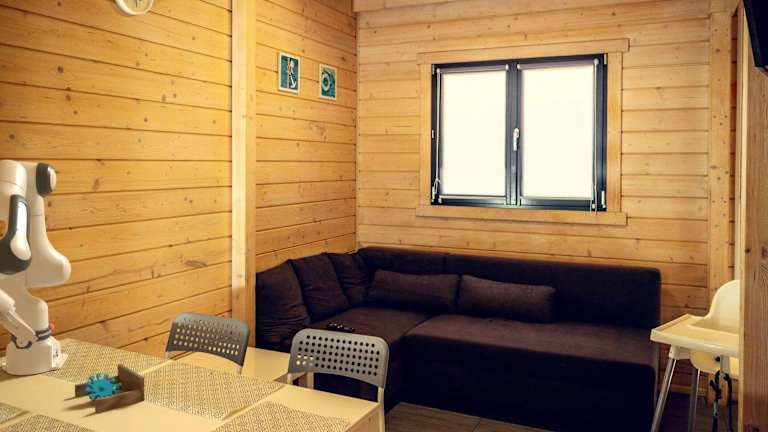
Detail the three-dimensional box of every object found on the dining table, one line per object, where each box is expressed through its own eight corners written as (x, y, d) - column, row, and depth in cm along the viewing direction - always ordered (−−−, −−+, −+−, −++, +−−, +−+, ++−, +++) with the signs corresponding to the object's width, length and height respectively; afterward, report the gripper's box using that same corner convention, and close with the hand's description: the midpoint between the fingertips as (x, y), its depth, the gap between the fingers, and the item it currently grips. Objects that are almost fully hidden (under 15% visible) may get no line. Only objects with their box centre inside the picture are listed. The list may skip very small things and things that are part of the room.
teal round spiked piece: (91, 403, 187) (82, 373, 192) (82, 414, 190) (75, 384, 195) (127, 398, 195) (119, 369, 200) (119, 409, 198) (111, 380, 203)
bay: (96, 412, 185) (95, 388, 184) (74, 396, 197) (74, 373, 196) (144, 400, 195) (144, 377, 194) (121, 385, 207) (120, 363, 206)
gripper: (15, 309, 168) (54, 341, 175) (-3, 291, 183) (34, 321, 190) (-6, 327, 165) (35, 359, 173) (-22, 308, 180) (16, 338, 188)
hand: (34, 339), depth 182 cm, fingers closed
